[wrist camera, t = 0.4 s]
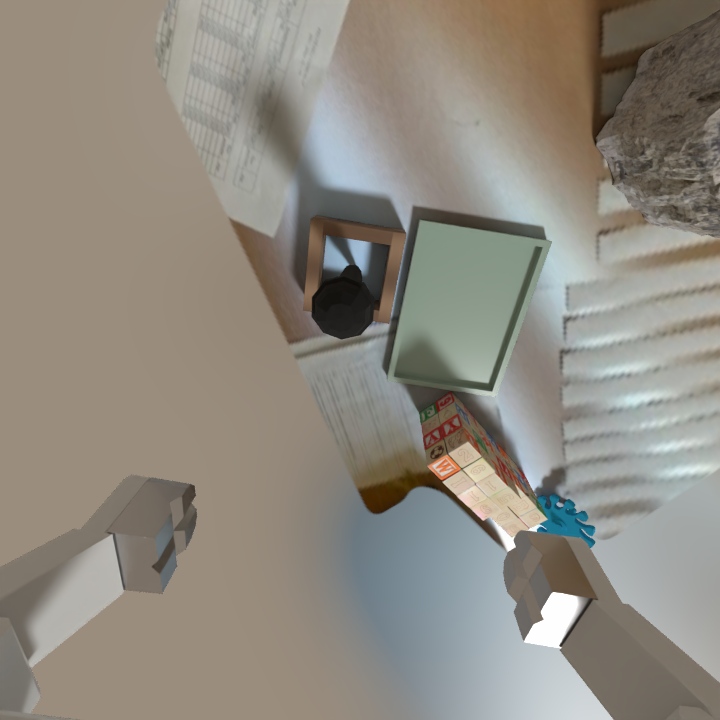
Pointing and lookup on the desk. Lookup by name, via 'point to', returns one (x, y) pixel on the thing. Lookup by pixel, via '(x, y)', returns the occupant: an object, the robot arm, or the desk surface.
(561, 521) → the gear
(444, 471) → the stack of blocks
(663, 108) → the petrified wood
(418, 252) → the tray
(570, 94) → the desk surface
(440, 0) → the desk surface
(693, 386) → the desk surface
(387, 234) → the holder
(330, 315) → the microphone
